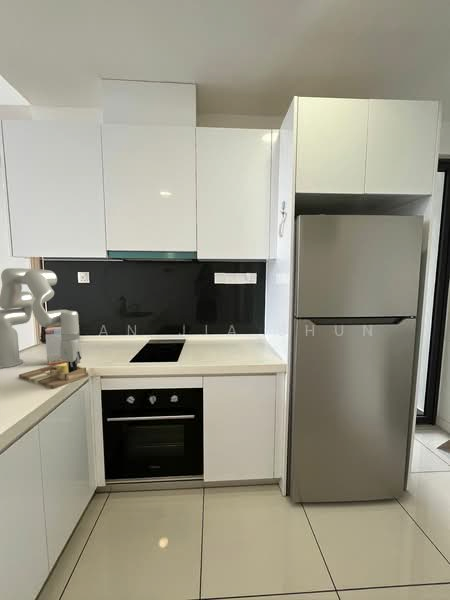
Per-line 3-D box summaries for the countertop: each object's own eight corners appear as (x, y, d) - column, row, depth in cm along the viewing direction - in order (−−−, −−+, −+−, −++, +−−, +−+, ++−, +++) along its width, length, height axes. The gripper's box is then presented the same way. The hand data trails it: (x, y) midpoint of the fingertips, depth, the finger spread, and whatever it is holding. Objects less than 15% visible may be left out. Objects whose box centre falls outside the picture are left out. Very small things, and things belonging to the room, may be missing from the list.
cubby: (50, 375, 130) (49, 370, 130) (70, 369, 139) (70, 363, 139) (66, 380, 124) (66, 374, 124) (86, 373, 133) (86, 367, 133)
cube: (56, 374, 132) (56, 365, 132) (66, 371, 136) (65, 362, 136) (62, 375, 130) (61, 366, 130) (71, 372, 134) (70, 364, 134)
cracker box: (77, 359, 160) (75, 325, 159) (75, 362, 155) (73, 327, 153) (50, 362, 156) (48, 326, 154) (47, 365, 150) (44, 328, 148)
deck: (19, 377, 132) (18, 374, 132) (54, 367, 147) (54, 364, 147) (53, 388, 119) (53, 385, 119) (88, 376, 134) (88, 373, 134)
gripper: (53, 336, 128) (55, 374, 130) (72, 340, 121) (75, 379, 123) (68, 333, 135) (71, 369, 136) (87, 336, 128) (89, 374, 130)
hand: (72, 374), depth 130 cm, fingers closed
